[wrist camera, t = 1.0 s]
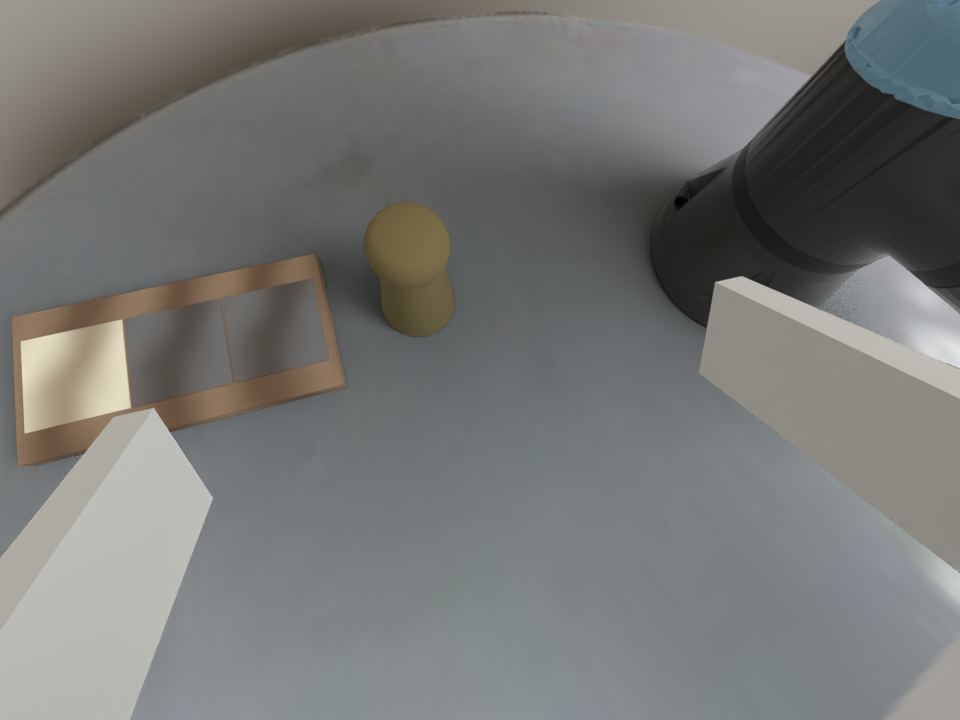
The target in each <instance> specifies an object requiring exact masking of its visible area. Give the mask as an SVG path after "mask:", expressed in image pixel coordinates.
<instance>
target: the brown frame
mask: <svg viewBox="0 0 960 720" xmlns="http://www.w3.org/2000/svg"><path fill="white" fill-rule="evenodd" d="M12 337H13V362H14V387H15V413H16V438H17V464H18V466H36V465H40V464H44V463H48V462H52V461H56V460H60V459H64V458H68V457H72V456H76V455H80V454H84V453H85V452H86V451H87V449H88V448H89V447H90V446H91V444H92V443H93V442H94V441H95V439H96V438H97V437H98V436H99V434H100V433H101V432H102V431H103V429H104V428H105V427H106V426H107V424H108V423H109V422H110V421H111V419H112V418H113V417H116V416H120V415H125V414H129V413H133V412H138V411H142V410H147V409H151V408H154V409H155V411H156V412H157V414H158V415H159V417H160V418H161V420H162V421H163V423H164V424H165V426H166V427H167V429H168V430H169V432H171V431H175V430H179V429H183V428H187V427H191V426H195V425H199V424H203V423H207V422H211V421H215V420H219V419H223V418H227V417H231V416H235V415H239V414H243V413H247V412H251V411H255V410H259V409H263V408H266V407H270V406H274V405H278V404H282V403H286V402H290V401H294V400H298V399H302V398H306V397H310V396H314V395H318V394H322V393H326V392H330V391H334V390H338V389H342V388H346V382H345V378H344V373H343V368H342V363H341V359H340V354H339V349H338V344H337V340H336V335H335V330H334V326H333V321H332V316H331V311H330V307H329V302H328V297H327V292H326V288H325V283H324V278H323V274H322V269H321V264H320V260H319V258H318V257H317V255H316V254H310V255H305V256H301V257H296V258H291V259H286V260H282V261H277V262H272V263H267V264H262V265H258V266H253V267H248V268H243V269H239V270H234V271H229V272H224V273H220V274H215V275H210V276H205V277H200V278H196V279H191V280H186V281H181V282H177V283H172V284H167V285H162V286H158V287H153V288H148V289H143V290H138V291H134V292H129V293H124V294H119V295H115V296H110V297H105V298H100V299H96V300H91V301H86V302H81V303H76V304H72V305H67V306H62V307H57V308H53V309H48V310H43V311H38V312H34V313H29V314H24V315H19V316H14V317H12Z"/></svg>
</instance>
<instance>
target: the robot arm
mask: <svg viewBox="0 0 960 720" xmlns="http://www.w3.org/2000/svg"><path fill="white" fill-rule="evenodd" d="M651 253H652V260H653V264H654V268H655V270H656V273H657V276H658V278H659V280H660V282H661V284H662V286H663V287H664V289H665V291H666V292H667V293H668V295H669V296H670V298H671V299H672V300H673V301H674V302H675V303H676V304H677V306H678V307H680V308H681V309H682V310H683V311H684V312H685V313H686V314H687V315H689V316H690V317H691V318H693V319H694V320H696V321H697V322H699V323H701V324H703V325H704V326H706V327H707V330H706V336H705V342H704V347H703V353H702V358H701V364H700V369H699V374H701V375H702V376H703V377H705V378H706V379H707V380H709V381H710V382H711V383H712V384H714V385H715V386H716V387H718V388H719V389H720V390H722V391H723V392H724V393H725V394H727V395H728V396H729V397H731V398H732V399H733V400H735V401H736V402H737V403H739V404H740V405H741V406H742V407H744V408H745V409H746V410H748V411H749V412H750V413H752V414H753V415H754V416H756V417H757V418H758V419H759V420H761V421H762V422H763V423H765V424H766V425H767V426H769V427H770V428H771V429H773V430H774V431H775V432H776V433H778V434H779V435H780V436H782V437H783V438H784V439H786V440H787V441H788V442H789V443H791V444H792V445H793V446H795V447H796V448H797V449H799V450H800V451H801V452H803V453H804V454H805V455H806V456H808V457H809V458H810V459H812V460H813V461H814V462H816V463H817V464H818V465H820V466H821V467H822V468H823V469H825V470H826V471H827V472H829V473H830V474H831V475H833V476H834V477H835V478H837V479H838V480H839V481H840V482H842V483H843V484H844V485H846V486H847V487H848V488H850V489H851V490H852V491H853V492H855V493H856V494H857V495H859V496H860V497H861V498H863V499H864V500H865V501H867V502H868V503H869V504H870V505H872V506H873V507H874V508H876V509H877V510H878V511H880V512H881V513H882V514H884V515H885V516H886V517H887V518H889V519H890V520H891V521H893V522H894V523H895V524H897V525H898V526H899V527H901V528H902V529H903V530H904V531H906V532H907V533H908V534H910V535H911V536H912V537H914V538H915V539H916V540H917V541H919V542H920V543H921V544H923V545H924V546H925V547H927V548H928V549H929V550H931V551H932V552H933V553H934V554H936V555H937V556H938V557H940V558H941V559H942V560H944V561H945V562H946V563H948V564H949V565H950V566H951V567H953V568H954V569H955V570H957V571H958V572H959V573H960V369H959V368H957V367H954V366H952V365H950V364H947V363H944V362H942V361H939V360H937V359H935V358H932V357H930V356H928V355H925V354H923V353H921V352H918V351H916V350H914V349H911V348H909V347H907V346H904V345H902V344H899V343H897V342H895V341H892V340H890V339H888V338H885V337H883V336H881V335H878V334H876V333H874V332H871V331H869V330H867V329H864V328H862V327H860V326H857V325H855V324H853V323H850V322H848V321H846V320H843V319H841V318H839V317H836V316H834V315H832V314H829V313H827V312H825V311H822V310H820V309H818V308H819V307H820V306H821V305H822V304H823V303H824V302H825V301H826V300H827V299H828V298H829V297H830V296H831V295H832V294H833V293H834V292H835V291H836V290H837V289H838V288H839V287H840V286H841V285H842V284H843V283H844V282H845V281H846V280H847V279H848V278H849V277H850V276H851V275H852V274H853V273H854V272H855V271H856V270H858V269H860V268H862V267H864V266H866V265H868V264H870V263H872V262H874V261H876V260H878V259H881V258H883V257H886V256H888V255H889V256H891V257H892V258H894V259H895V260H896V261H897V262H899V263H900V264H901V265H902V266H903V267H905V268H906V269H907V270H908V271H910V272H911V273H912V274H913V275H915V276H916V277H917V278H918V279H919V280H921V281H922V282H923V283H924V284H925V285H926V286H927V287H929V288H930V289H931V290H932V291H933V292H935V293H936V294H937V295H938V296H939V297H941V298H942V299H943V300H944V301H945V302H947V303H948V304H949V305H950V306H951V307H953V308H954V309H955V310H956V311H957V312H959V313H960V0H880V1H879V2H877V3H876V4H875V5H873V6H872V7H871V8H869V9H868V10H867V11H866V12H865V13H863V14H862V16H861V17H860V18H859V19H858V20H857V21H856V23H855V24H854V25H853V27H851V29H850V30H849V32H848V37H847V39H846V40H845V42H844V43H843V44H842V45H841V46H840V47H839V48H838V49H837V50H836V51H835V52H834V53H833V54H832V55H831V56H830V57H829V58H828V59H827V61H826V62H825V63H824V64H823V65H822V66H821V67H820V68H819V69H818V70H817V71H816V72H815V73H814V74H813V75H812V76H811V77H810V78H809V79H808V80H807V82H806V83H805V84H804V85H803V86H802V87H801V88H800V89H799V90H798V91H797V92H796V93H795V94H794V95H793V96H792V97H791V98H790V99H789V101H788V102H787V103H786V104H785V105H784V106H783V107H782V108H781V109H780V110H779V111H778V112H777V113H776V114H775V115H774V116H773V117H772V118H771V119H770V121H769V122H768V123H767V124H766V125H765V126H764V127H763V128H762V129H761V130H760V131H759V132H758V133H757V135H756V136H755V137H754V138H753V139H752V140H751V141H750V142H749V143H748V144H747V145H746V146H745V147H744V148H743V149H742V150H740V151H738V152H737V153H735V154H733V155H731V156H729V157H728V158H726V159H724V160H722V161H720V162H719V163H717V164H715V165H713V166H711V167H709V168H708V169H706V170H704V171H702V172H700V173H699V174H697V175H695V176H693V177H692V178H690V179H689V180H688V181H686V182H685V183H684V184H683V185H682V186H681V187H680V188H679V189H678V190H677V191H676V192H675V193H674V194H673V195H672V197H671V198H670V199H669V200H668V201H667V203H666V204H665V205H664V206H663V208H662V209H661V211H660V212H659V214H658V216H657V218H656V221H655V223H654V226H653V230H652V236H651ZM212 499H213V497H212V496H211V494H210V493H209V491H208V490H207V488H206V487H205V485H204V484H203V482H202V481H201V479H200V478H199V476H198V475H197V473H196V471H195V470H194V468H193V467H192V465H191V464H190V462H189V461H188V459H187V458H186V456H185V455H184V453H183V452H182V450H181V449H180V447H179V446H178V444H177V443H176V441H175V440H174V438H173V436H172V435H171V433H170V432H169V430H168V429H167V427H166V426H165V424H164V423H163V421H162V420H161V418H160V417H159V415H158V414H157V412H156V411H155V409H154V408H151V409H147V410H142V411H138V412H133V413H129V414H125V415H120V416H116V417H113V418H112V419H111V421H110V422H109V423H108V424H107V426H106V427H105V428H104V429H103V431H102V432H101V433H100V434H99V436H98V437H97V438H96V439H95V441H94V442H93V443H92V444H91V446H90V447H89V448H88V449H87V451H86V452H85V453H84V454H83V456H82V457H81V458H80V459H79V461H78V462H77V463H76V464H75V466H74V467H73V468H72V469H71V471H70V472H69V473H68V474H67V476H66V477H65V478H64V479H63V481H62V482H61V483H60V484H59V486H58V487H57V488H56V489H55V491H54V492H53V493H52V494H51V496H50V497H49V498H48V499H47V501H46V502H45V503H44V504H43V506H42V507H41V508H40V509H39V511H38V512H37V513H36V514H35V516H34V517H33V518H32V519H31V521H30V522H29V523H28V524H27V526H26V527H25V528H24V529H23V531H22V532H21V533H20V534H19V536H18V537H17V538H16V539H15V540H14V542H13V543H12V544H11V545H10V547H9V548H8V549H7V550H6V552H5V553H4V554H3V555H2V557H1V558H0V720H130V718H131V715H132V713H133V710H134V707H135V705H136V702H137V699H138V697H139V694H140V691H141V689H142V686H143V683H144V681H145V678H146V675H147V673H148V670H149V667H150V665H151V662H152V659H153V657H154V654H155V651H156V649H157V646H158V643H159V641H160V638H161V635H162V633H163V630H164V627H165V625H166V622H167V619H168V617H169V614H170V611H171V609H172V606H173V603H174V601H175V598H176V595H177V593H178V590H179V587H180V585H181V582H182V579H183V577H184V574H185V571H186V569H187V566H188V563H189V561H190V558H191V555H192V553H193V550H194V547H195V545H196V542H197V539H198V537H199V534H200V531H201V529H202V526H203V523H204V521H205V518H206V515H207V513H208V510H209V507H210V505H211V502H212Z"/></svg>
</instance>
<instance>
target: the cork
mask: <svg viewBox="0 0 960 720" xmlns="http://www.w3.org/2000/svg"><path fill="white" fill-rule="evenodd" d="M364 251H365V254H366V257H367V259H368V262H369V264H370V267H371V268H372V269H373V271H374V272H375V273H376V274H377V275H378V277H379V278H380V289H381V305H382V311H383V314H384V316H385V319H386V320H387V322H388V323H389V324H390V325H391V326H392V328H394V329H395V330H397V331H398V332H400V333H402V334H404V335H408V336H412V337H425V336H428V335H431V334H434V333H437V332H438V331H439V330H441V329H442V328H443V327H445V326H446V325H447V323H448V322H449V320H450V319H451V317H452V315H453V312H454V308H455V295H454V292H453V289H452V285H451V282H450V279H449V276H448V273H447V270H446V266H447V263H448V259H449V256H450V236H449V234H448V231H447V229H446V227H445V224H444V222H443V221H442V220H441V219H440V218H439V216H438V215H437V214H436V213H435V212H433V211H432V210H430V209H428V208H427V207H425V206H423V205H419V204H416V203H412V202H399V203H396V204H392V205H389V206H387V207H386V208H384V209H383V210H381V211H380V212H378V213H377V214H376V215H375V216H374V217H373V219H372V220H371V221H370V222H369V224H368V227H367V230H366V233H365V238H364Z"/></svg>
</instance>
